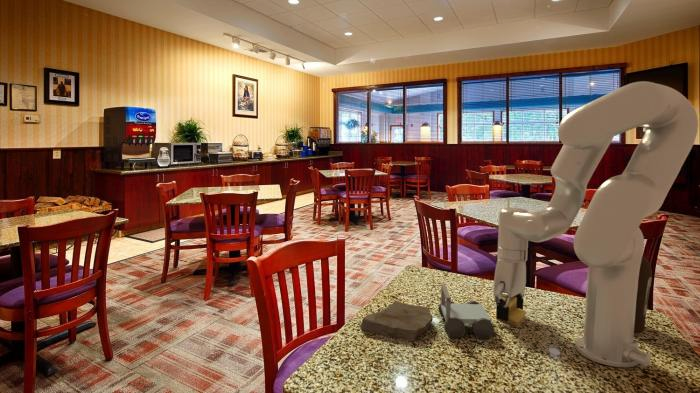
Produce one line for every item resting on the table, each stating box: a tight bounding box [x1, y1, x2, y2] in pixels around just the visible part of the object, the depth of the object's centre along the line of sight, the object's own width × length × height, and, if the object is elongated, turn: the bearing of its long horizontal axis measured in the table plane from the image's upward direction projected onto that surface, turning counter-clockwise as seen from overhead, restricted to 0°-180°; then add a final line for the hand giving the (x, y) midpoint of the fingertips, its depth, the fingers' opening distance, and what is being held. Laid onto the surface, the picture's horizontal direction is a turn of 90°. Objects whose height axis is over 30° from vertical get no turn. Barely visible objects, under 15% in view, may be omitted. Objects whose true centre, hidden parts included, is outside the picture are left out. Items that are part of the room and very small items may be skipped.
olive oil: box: [634, 254, 653, 334], centre depth 105 cm, size 11×11×25 cm
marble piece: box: [360, 301, 434, 342], centre depth 108 cm, size 17×15×4 cm
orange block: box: [495, 293, 526, 326], centre depth 111 cm, size 6×4×6 cm
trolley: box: [438, 283, 495, 340], centre depth 106 cm, size 12×13×10 cm
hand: (509, 314), depth 111 cm, fingers open, 8 cm apart
